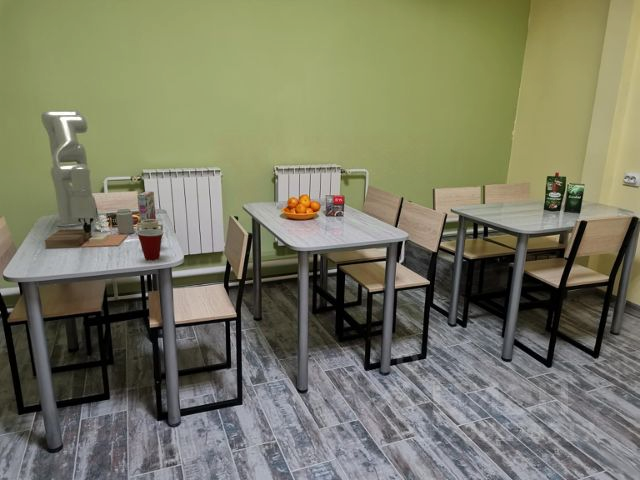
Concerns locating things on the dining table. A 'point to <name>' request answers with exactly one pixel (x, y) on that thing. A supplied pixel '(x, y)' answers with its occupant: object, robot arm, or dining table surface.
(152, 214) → the candy bar box
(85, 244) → the mat
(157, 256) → the plastic cup
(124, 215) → the can
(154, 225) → the character mug
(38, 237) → the dining table surface
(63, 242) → the brown flat block
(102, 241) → the tile
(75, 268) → the dining table surface
